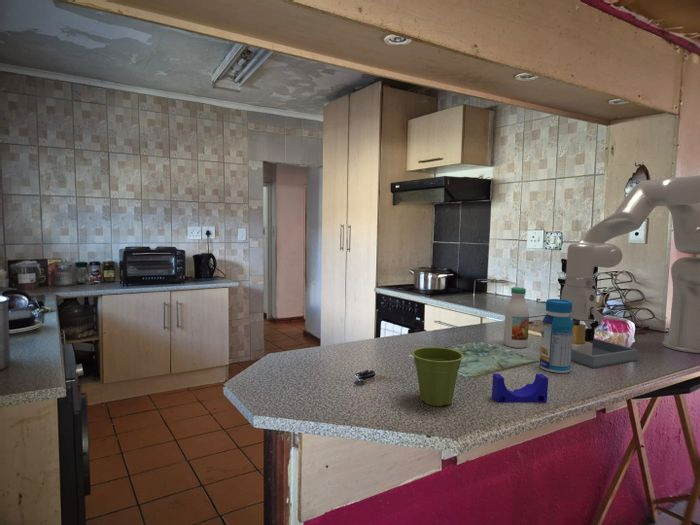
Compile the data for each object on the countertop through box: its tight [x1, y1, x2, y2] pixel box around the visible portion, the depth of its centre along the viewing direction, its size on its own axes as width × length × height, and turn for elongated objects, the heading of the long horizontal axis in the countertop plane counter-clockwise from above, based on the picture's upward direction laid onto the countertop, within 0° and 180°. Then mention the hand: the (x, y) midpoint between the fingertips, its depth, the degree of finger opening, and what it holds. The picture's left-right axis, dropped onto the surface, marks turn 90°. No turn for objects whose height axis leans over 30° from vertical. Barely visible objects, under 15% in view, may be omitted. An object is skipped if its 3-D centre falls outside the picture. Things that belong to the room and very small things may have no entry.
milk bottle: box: [503, 286, 530, 349], centre depth 150 cm, size 8×8×20 cm
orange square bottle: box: [572, 319, 587, 345], centre depth 138 cm, size 4×4×12 cm
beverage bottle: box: [539, 298, 574, 374], centre depth 126 cm, size 8×8×20 cm
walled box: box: [571, 337, 639, 369], centre depth 140 cm, size 20×18×5 cm
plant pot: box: [411, 346, 465, 407], centre depth 102 cm, size 12×12×11 cm
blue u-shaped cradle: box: [491, 373, 549, 403], centre depth 105 cm, size 12×4×6 cm, turn 93°
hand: (575, 337), depth 138 cm, fingers open, 9 cm apart
